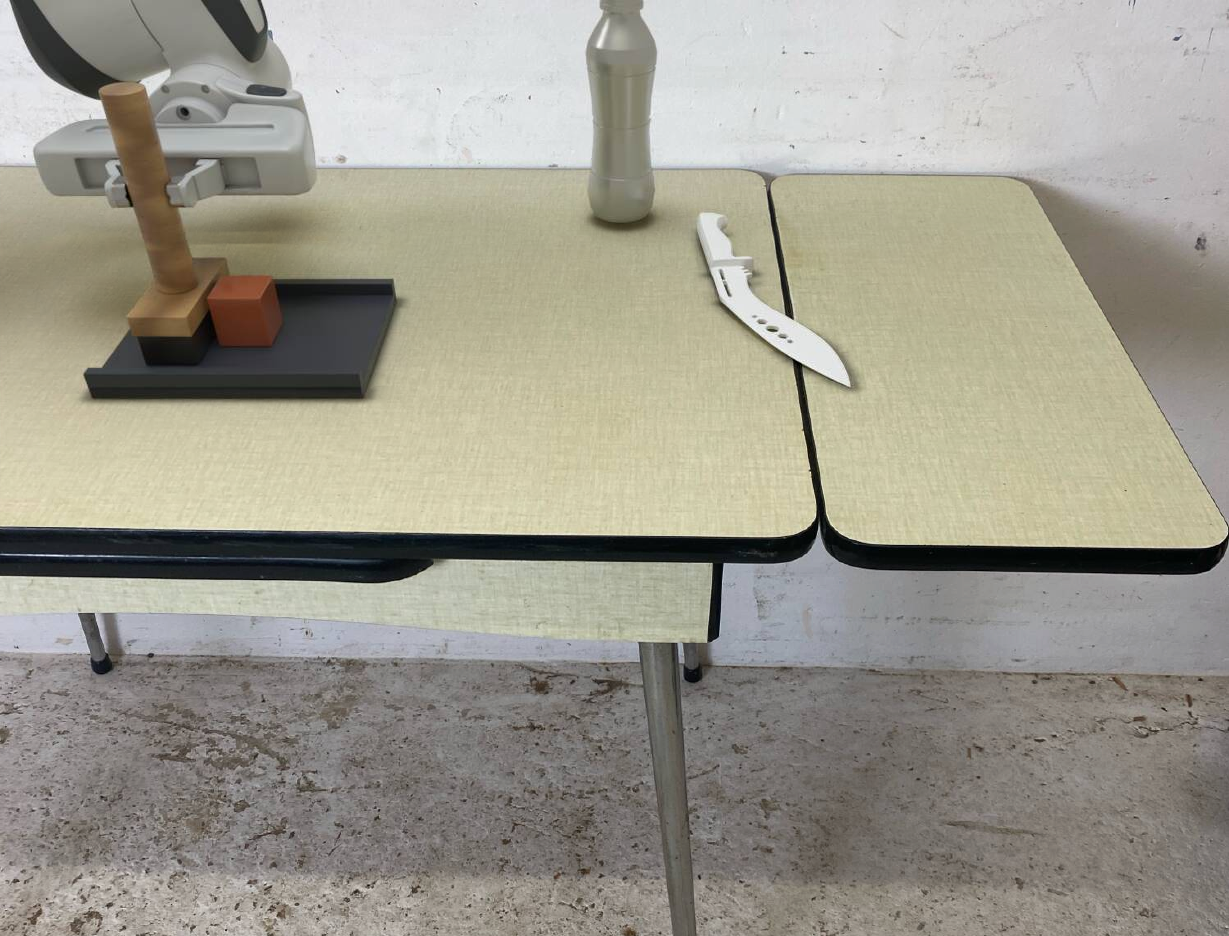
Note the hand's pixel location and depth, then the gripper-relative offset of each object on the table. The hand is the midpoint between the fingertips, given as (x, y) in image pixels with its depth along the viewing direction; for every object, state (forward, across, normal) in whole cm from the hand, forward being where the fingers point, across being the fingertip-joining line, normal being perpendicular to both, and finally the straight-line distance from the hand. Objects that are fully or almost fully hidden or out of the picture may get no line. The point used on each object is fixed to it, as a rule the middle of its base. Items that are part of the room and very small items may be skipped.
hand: (148, 197), depth 76 cm
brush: (-1, 0, +11) cm, 11 cm away
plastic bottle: (-27, +34, +12) cm, 45 cm away
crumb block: (-1, +5, +11) cm, 12 cm away
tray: (-1, +5, +12) cm, 13 cm away
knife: (-9, +46, +12) cm, 48 cm away
